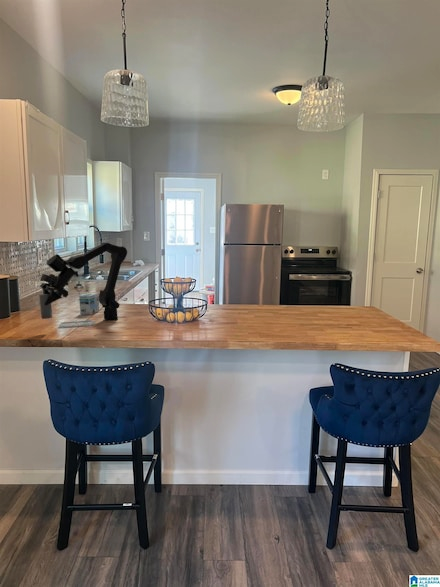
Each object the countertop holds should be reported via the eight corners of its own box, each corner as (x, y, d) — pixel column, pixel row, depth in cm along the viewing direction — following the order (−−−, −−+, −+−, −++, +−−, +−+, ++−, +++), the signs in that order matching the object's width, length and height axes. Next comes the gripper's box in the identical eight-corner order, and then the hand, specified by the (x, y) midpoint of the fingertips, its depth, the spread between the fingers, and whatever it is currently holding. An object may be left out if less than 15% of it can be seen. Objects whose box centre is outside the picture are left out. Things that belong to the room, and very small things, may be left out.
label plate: (93, 321, 217) (93, 319, 217) (92, 325, 207) (92, 324, 207) (61, 323, 213) (61, 322, 213) (58, 328, 203) (58, 326, 203)
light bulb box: (90, 314, 233) (89, 295, 232) (79, 314, 235) (78, 295, 233) (99, 310, 244) (98, 292, 242) (89, 310, 245) (88, 292, 243)
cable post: (53, 316, 199) (51, 293, 197) (51, 318, 194) (49, 295, 192) (42, 316, 197) (40, 294, 196) (40, 319, 193) (38, 295, 191)
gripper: (42, 266, 201) (21, 292, 195) (59, 268, 188) (37, 296, 182) (59, 280, 208) (39, 305, 202) (77, 283, 195) (56, 310, 189)
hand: (42, 304), depth 194 cm, fingers closed on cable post, 5 cm apart
